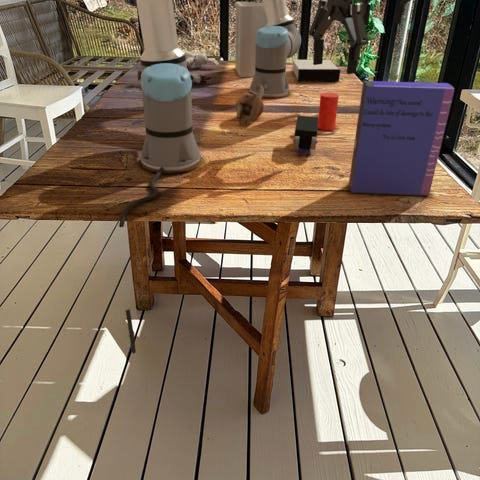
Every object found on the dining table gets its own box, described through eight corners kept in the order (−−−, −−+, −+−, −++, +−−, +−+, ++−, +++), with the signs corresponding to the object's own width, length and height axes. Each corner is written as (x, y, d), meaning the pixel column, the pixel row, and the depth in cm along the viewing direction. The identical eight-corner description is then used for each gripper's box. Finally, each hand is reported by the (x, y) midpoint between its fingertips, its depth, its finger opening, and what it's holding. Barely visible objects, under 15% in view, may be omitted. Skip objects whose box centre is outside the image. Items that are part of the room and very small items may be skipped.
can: (330, 124, 153) (333, 92, 148) (337, 129, 148) (341, 96, 143) (314, 125, 151) (317, 93, 146) (321, 131, 147) (325, 97, 142)
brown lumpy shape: (251, 126, 162) (245, 130, 148) (232, 108, 161) (224, 111, 147) (276, 97, 158) (272, 99, 144) (257, 79, 157) (251, 79, 143)
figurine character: (316, 163, 128) (316, 138, 139) (319, 137, 123) (319, 114, 135) (291, 161, 128) (293, 137, 140) (293, 135, 124) (295, 112, 135)
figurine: (134, 83, 183) (212, 90, 186) (134, 61, 180) (213, 69, 184) (141, 80, 205) (210, 87, 209) (141, 61, 202) (211, 68, 206)
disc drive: (297, 81, 203) (298, 69, 200) (291, 70, 222) (292, 58, 220) (338, 81, 203) (340, 69, 201) (329, 70, 223) (330, 59, 220)
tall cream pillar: (273, 76, 210) (276, 6, 196) (239, 77, 209) (240, 6, 194) (266, 67, 226) (268, 2, 212) (235, 67, 225) (235, 1, 210)
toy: (173, 74, 211) (173, 58, 207) (150, 64, 229) (148, 49, 225) (220, 68, 223) (220, 53, 219) (194, 59, 240) (194, 44, 237)
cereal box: (423, 187, 112) (447, 82, 100) (428, 195, 108) (454, 87, 96) (348, 184, 113) (363, 79, 101) (351, 192, 109) (367, 85, 96)
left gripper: (390, -19, 111) (377, 75, 122) (320, -23, 129) (315, 59, 140) (367, -18, 108) (356, 79, 119) (299, -22, 126) (294, 62, 137)
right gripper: (366, -46, 153) (357, 26, 164) (429, -45, 161) (416, 24, 172) (353, -46, 159) (345, 23, 170) (415, -45, 167) (403, 21, 178)
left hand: (333, 68), depth 130 cm, fingers open, 13 cm apart
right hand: (381, 24), depth 171 cm, fingers open, 13 cm apart
